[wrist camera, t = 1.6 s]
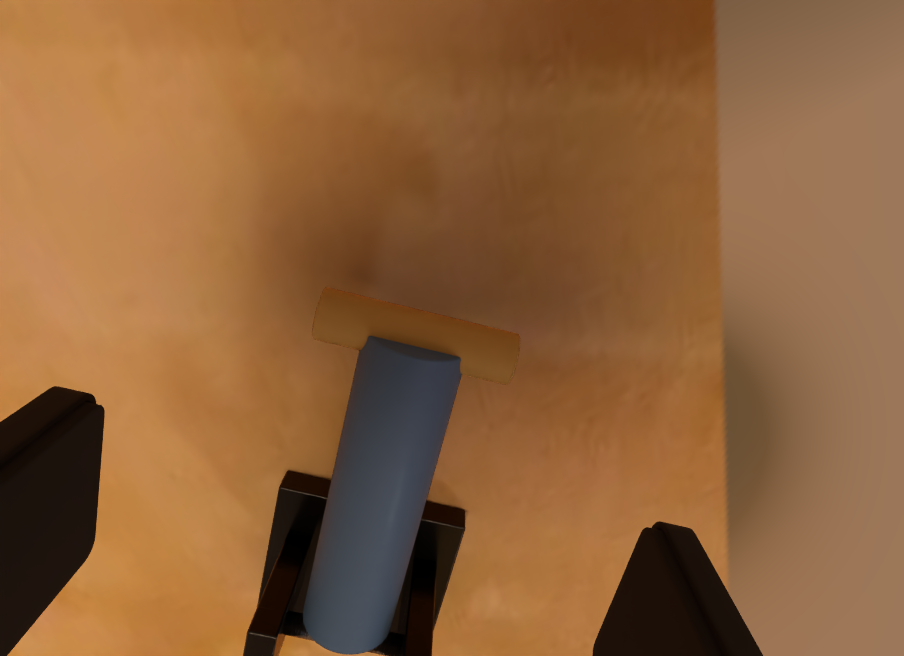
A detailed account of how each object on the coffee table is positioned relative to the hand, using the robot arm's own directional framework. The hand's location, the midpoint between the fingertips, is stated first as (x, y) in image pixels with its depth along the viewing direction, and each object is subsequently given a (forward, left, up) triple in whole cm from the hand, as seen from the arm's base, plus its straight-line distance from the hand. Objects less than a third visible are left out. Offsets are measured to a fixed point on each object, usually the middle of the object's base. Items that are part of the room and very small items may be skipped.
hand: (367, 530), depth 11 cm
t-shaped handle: (+5, 0, -10) cm, 12 cm away
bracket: (+12, 0, -13) cm, 18 cm away
